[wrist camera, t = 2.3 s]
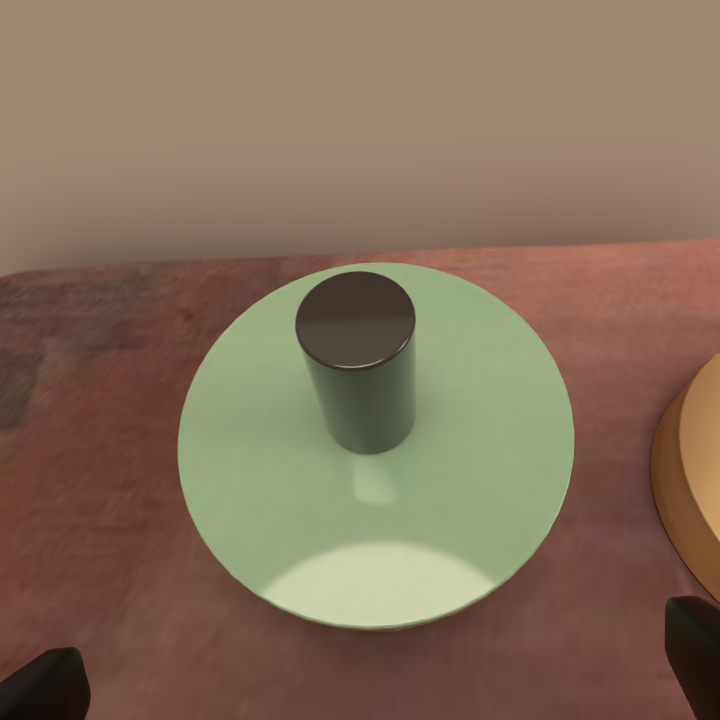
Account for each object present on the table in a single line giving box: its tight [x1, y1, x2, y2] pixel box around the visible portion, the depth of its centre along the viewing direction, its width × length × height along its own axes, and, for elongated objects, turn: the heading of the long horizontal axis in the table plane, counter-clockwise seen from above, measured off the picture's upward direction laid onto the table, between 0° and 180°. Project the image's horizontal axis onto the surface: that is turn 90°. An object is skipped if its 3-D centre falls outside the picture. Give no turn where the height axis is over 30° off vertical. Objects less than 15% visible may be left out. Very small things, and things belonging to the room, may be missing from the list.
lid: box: [178, 263, 575, 631], centre depth 15 cm, size 12×12×6 cm
